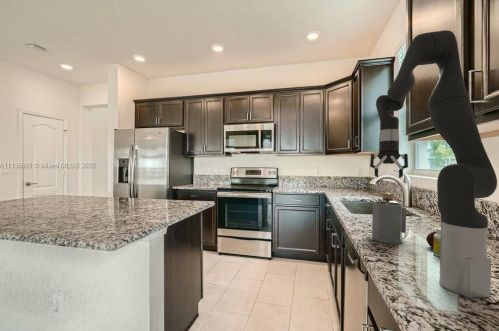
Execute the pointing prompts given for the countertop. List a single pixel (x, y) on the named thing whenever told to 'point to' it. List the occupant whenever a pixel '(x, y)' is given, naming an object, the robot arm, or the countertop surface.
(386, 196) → the plunger
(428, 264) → the countertop surface
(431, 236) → the potato
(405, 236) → the countertop surface
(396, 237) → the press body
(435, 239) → the supplement bottle
